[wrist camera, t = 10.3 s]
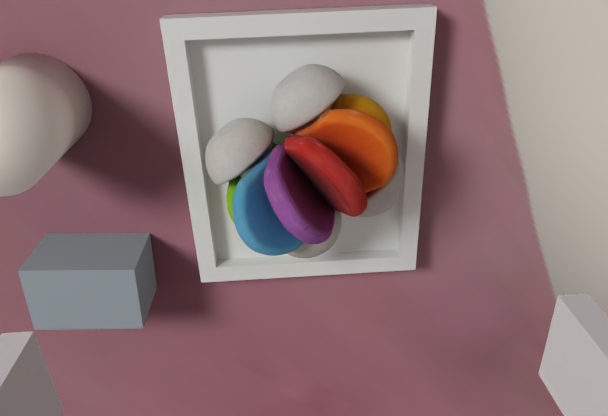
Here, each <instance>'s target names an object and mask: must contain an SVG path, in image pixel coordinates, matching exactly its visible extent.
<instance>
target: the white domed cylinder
mask: <svg viewBox="0 0 608 416" xmlns="http://www.w3.org/2000/svg"><path fill="white" fill-rule="evenodd" d="M91 118H92V103H91V98H90V95H89V92H88V90H87V88H86V86H85V84H84V83H83V81H82V80H81V78H80V77H79V76H78V75H77V74H76V73H75V72H74V71H73V70H72V69H71V68H70V67H69V66H67V65H66V64H64V63H63V62H61V61H59V60H57V59H56V58H53V57H51V56H47V55H44V54H38V53H24V54H19V55H15V56H13V57H11V58H9V59H6V60H4V61H2V62H0V196H12V195H16V194H19V193H22V192H24V191H26V190H28V189H30V188H31V187H32V186H34V185H35V184H36V183H37V182H38V181H39V180H40V179H41V178H42V177H43V176H44V175H45V174H46V173H47V172H48V171H49V170H50V168H51V167H52V166H53V165H54V164H55V163H56V162H57V161H58V160H59V159H60V158H61V157H62V156H63V155H64V154H65V153H66V152H67V151H68V150H69V149H70V148H71V147H72V146H73V145H74V144H75V143H76V142H77V141H78V139H79V138H80V137H81V136H82V135H83V134H84V133H85V132H86V130H87V129H88V127H89V124H90V121H91Z"/></svg>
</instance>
